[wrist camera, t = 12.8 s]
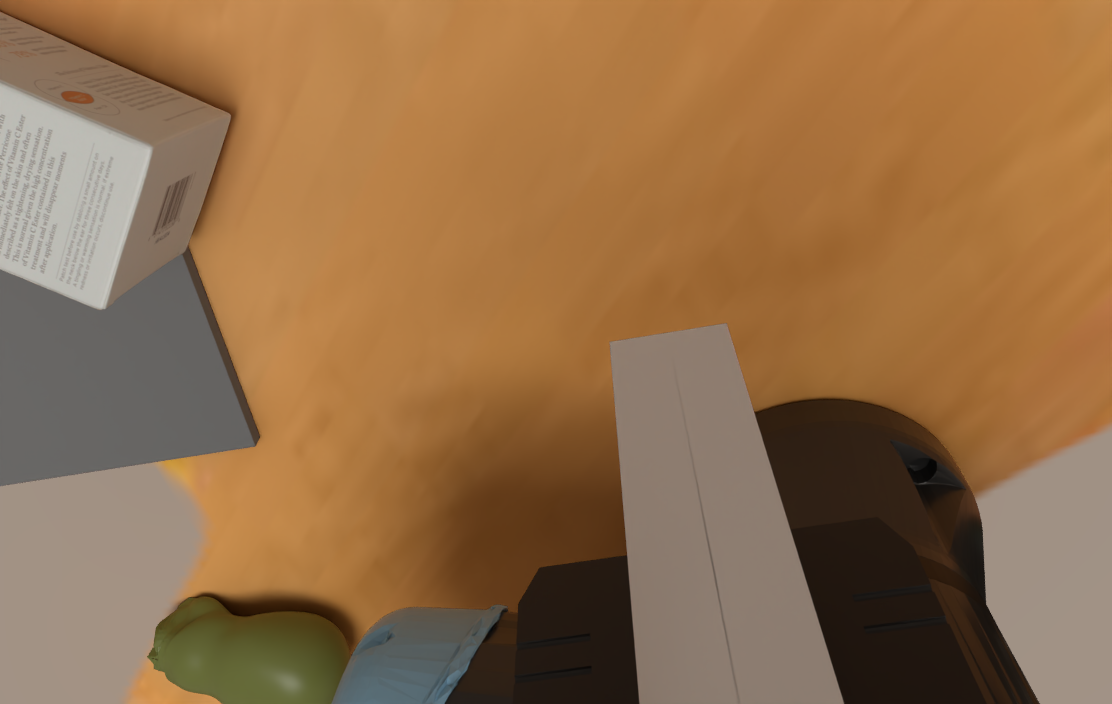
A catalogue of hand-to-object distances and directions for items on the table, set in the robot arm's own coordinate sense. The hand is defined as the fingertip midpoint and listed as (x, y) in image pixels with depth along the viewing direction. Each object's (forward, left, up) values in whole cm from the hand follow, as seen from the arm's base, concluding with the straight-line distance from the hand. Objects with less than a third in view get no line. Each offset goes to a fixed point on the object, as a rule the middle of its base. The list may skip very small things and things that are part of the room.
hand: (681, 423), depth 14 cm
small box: (-3, +16, -24) cm, 29 cm away
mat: (-8, +26, -29) cm, 40 cm away
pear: (-27, +23, -30) cm, 46 cm away
